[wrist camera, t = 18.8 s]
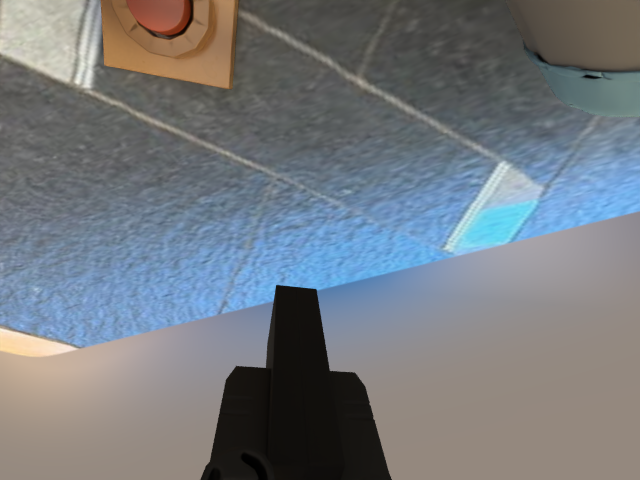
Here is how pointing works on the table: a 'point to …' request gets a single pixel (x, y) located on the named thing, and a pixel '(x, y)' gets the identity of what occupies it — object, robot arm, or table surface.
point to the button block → (174, 43)
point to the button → (161, 14)
